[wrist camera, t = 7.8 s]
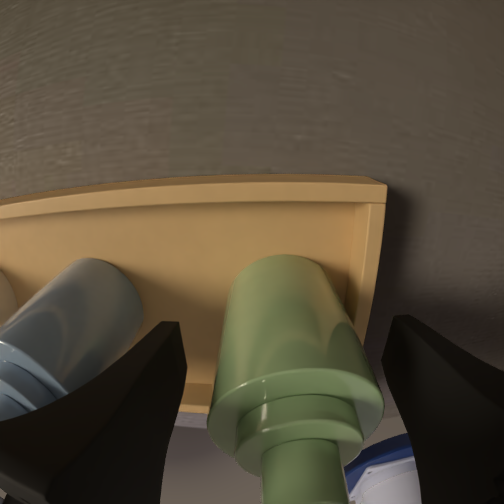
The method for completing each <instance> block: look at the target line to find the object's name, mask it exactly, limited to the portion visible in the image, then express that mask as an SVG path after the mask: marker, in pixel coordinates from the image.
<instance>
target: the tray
mask: <svg viewBox="0 0 504 504" xmlns="http://www.w3.org/2000/svg"><path fill="white" fill-rule="evenodd" d="M386 199H387V185H385V184H383V183H381V182H378V181H376V180H374V179H371V178H369V177H367V176H351V175H324V174H236V175H208V176H188V177H172V178H158V179H146V180H134V181H124V182H114V183H105V184H97V185H88V186H81V187H73V188H66V189H59V190H52V191H46V192H40V193H34V194H28V195H22V196H17V197H11V198H6V199H1V200H0V270H1V271H2V272H3V273H4V275H5V276H6V278H7V279H8V281H9V283H10V285H11V287H12V289H13V291H14V294H15V296H16V300H17V304H18V309H19V308H20V307H21V306H22V305H23V304H24V303H25V302H26V301H27V300H28V299H29V298H30V297H32V296H33V295H34V294H35V293H36V292H37V291H38V290H39V289H41V288H42V287H43V286H44V285H45V284H46V283H47V282H49V281H50V280H51V279H52V278H53V277H54V276H56V275H57V274H58V273H59V272H60V271H61V270H63V269H64V268H65V267H66V266H67V265H69V264H70V263H71V262H73V261H75V260H77V259H81V258H95V259H99V260H102V261H105V262H107V263H109V264H111V265H113V266H114V267H116V268H117V269H118V270H120V271H121V272H122V273H123V274H124V275H125V276H126V277H127V278H128V279H129V280H130V281H131V283H132V284H133V285H134V287H135V288H136V290H137V292H138V294H139V296H140V299H141V302H142V305H143V313H144V318H143V324H142V327H141V329H140V331H139V333H138V335H137V337H136V339H135V340H134V342H133V344H132V346H131V348H132V347H133V346H134V345H135V344H137V343H138V342H139V341H140V340H141V339H142V338H143V337H144V336H145V335H146V334H148V333H149V332H150V331H151V330H152V329H153V328H154V327H155V326H156V325H157V324H159V323H160V322H161V321H177V322H179V324H180V330H181V335H182V341H183V346H184V351H185V356H186V361H187V366H188V368H187V375H186V382H185V388H184V393H183V397H182V400H181V404H180V407H179V410H178V411H180V412H192V413H208V410H209V403H210V397H211V391H212V384H213V378H214V372H215V366H216V360H217V354H218V348H219V342H220V336H221V330H222V324H223V318H224V312H225V306H226V301H227V295H228V292H229V288H230V286H231V284H232V282H233V281H234V279H235V278H236V276H237V275H238V274H239V273H240V272H241V271H242V270H243V269H245V268H246V267H247V266H248V265H250V264H252V263H253V262H255V261H257V260H259V259H262V258H265V257H268V256H273V255H282V254H286V255H296V256H301V257H304V258H307V259H309V260H311V261H313V262H315V263H317V264H318V265H320V266H321V267H322V268H323V269H324V270H325V271H326V272H327V273H328V274H329V276H330V277H331V279H332V281H333V283H334V285H335V287H336V289H337V291H338V293H339V296H340V298H341V300H342V302H343V304H344V306H345V308H346V311H347V313H348V315H349V317H350V319H351V322H352V324H353V326H354V328H355V331H356V333H357V335H358V337H359V340H360V342H361V344H362V347H363V344H364V340H365V335H366V331H367V326H368V321H369V316H370V312H371V306H372V301H373V296H374V290H375V285H376V279H377V272H378V266H379V259H380V252H381V245H382V237H383V228H384V219H385V209H386V205H385V204H384V203H386ZM131 348H130V349H131Z"/></svg>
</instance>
